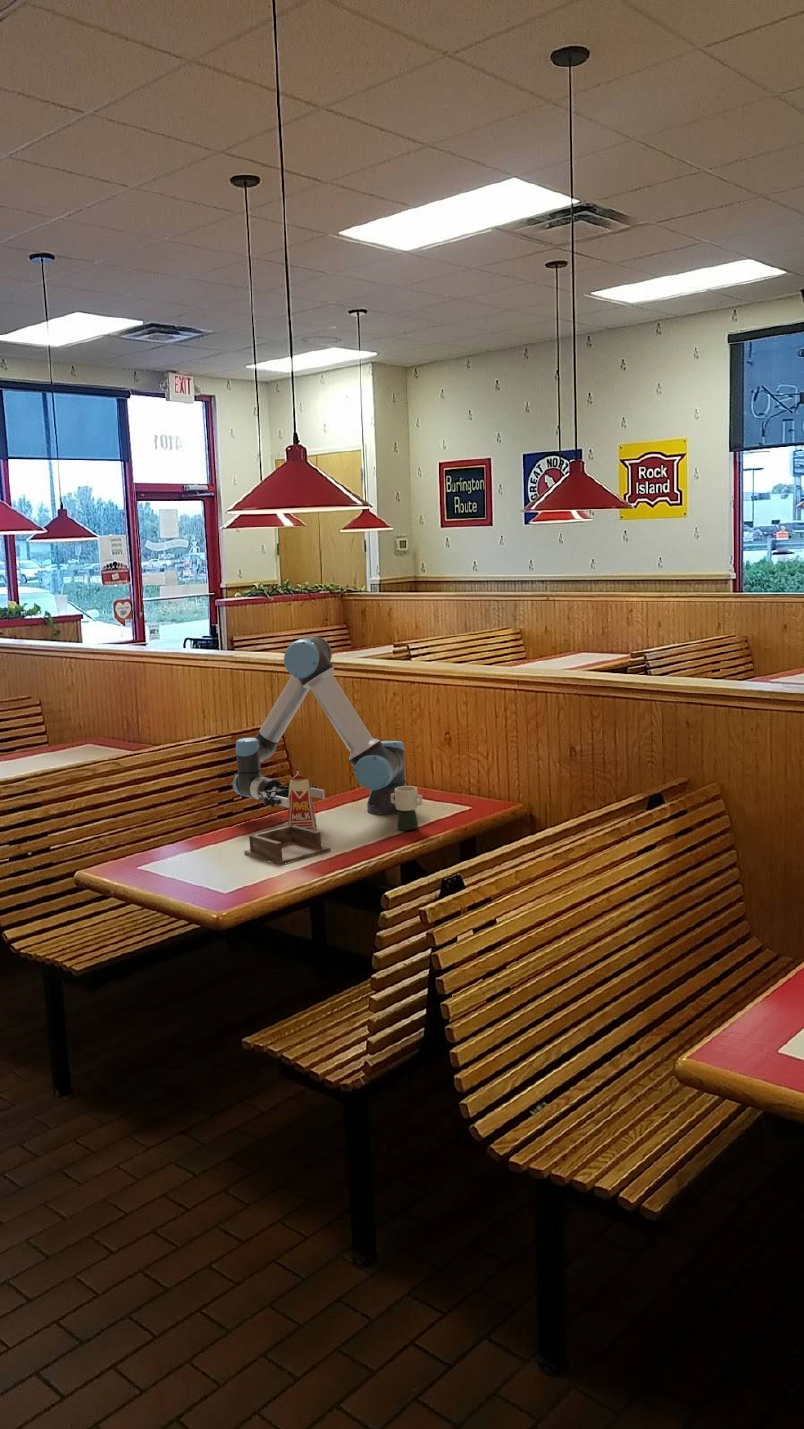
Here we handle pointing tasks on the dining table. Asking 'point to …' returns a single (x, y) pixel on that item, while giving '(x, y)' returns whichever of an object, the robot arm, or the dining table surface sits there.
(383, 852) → the dining table surface
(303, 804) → the milk carton
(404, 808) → the character mug
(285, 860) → the carton bracket
